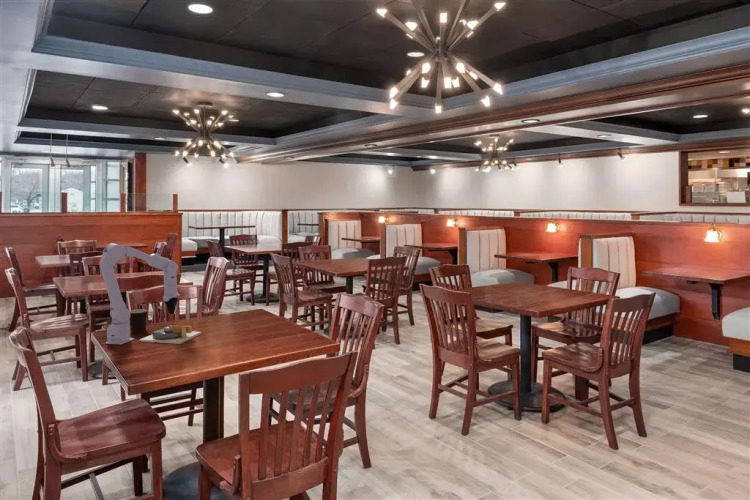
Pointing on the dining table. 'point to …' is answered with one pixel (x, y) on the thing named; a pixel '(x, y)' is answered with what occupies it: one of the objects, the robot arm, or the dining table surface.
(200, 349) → the dining table surface
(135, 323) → the coffee mug
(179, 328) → the dial
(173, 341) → the base board
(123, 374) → the dining table surface
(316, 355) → the dining table surface
